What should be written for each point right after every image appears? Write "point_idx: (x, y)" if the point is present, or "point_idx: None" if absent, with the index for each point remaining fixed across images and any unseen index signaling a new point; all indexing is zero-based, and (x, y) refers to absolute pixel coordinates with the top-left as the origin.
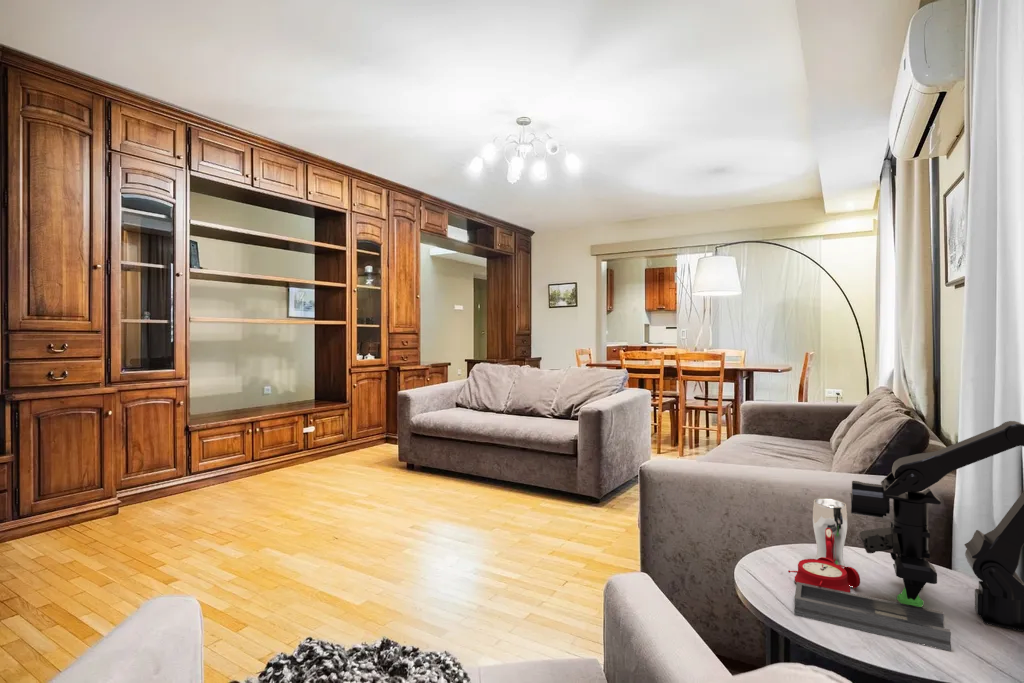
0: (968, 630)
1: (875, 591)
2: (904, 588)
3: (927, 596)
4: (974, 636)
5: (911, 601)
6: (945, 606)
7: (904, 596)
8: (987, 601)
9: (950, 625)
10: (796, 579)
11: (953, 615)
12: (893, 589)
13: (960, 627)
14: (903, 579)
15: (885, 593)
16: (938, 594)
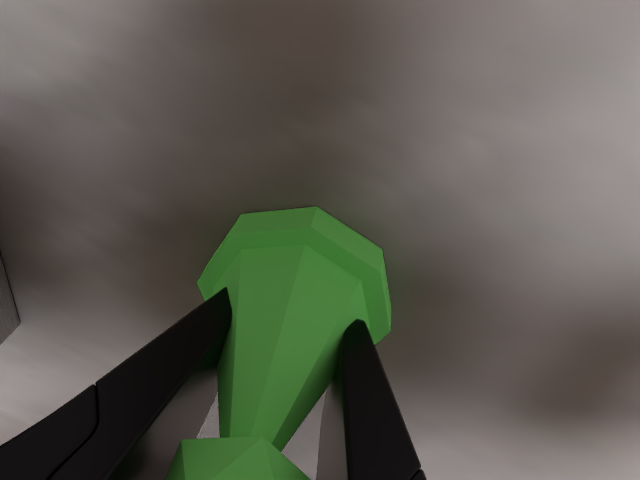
0: (57, 406)
1: (475, 45)
2: (269, 342)
3: (442, 415)
4: (6, 401)
5: (212, 294)
6: (314, 436)
7: (240, 278)
8: None
9: (60, 362)
10: None
11: (205, 421)
12: (550, 253)
13: (68, 391)
14: (47, 445)
15: (438, 145)
16: (487, 473)
